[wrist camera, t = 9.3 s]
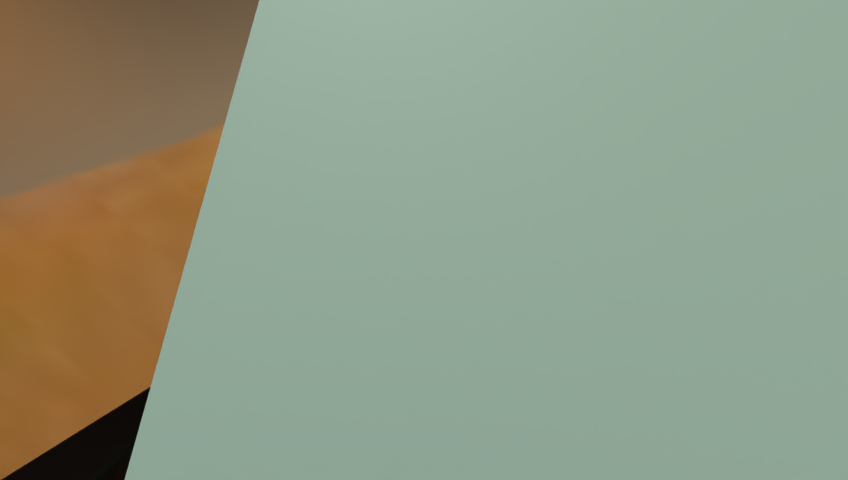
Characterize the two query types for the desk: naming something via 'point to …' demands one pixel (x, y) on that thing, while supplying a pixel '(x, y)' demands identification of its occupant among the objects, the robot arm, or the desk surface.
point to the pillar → (518, 248)
